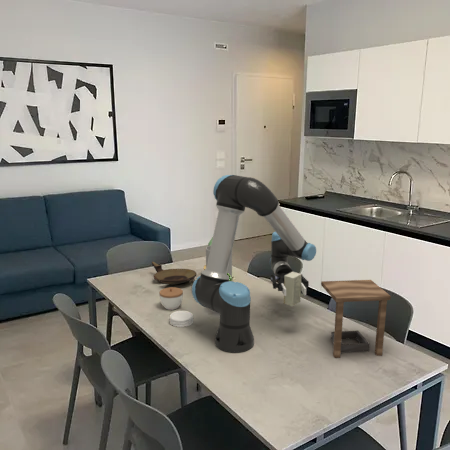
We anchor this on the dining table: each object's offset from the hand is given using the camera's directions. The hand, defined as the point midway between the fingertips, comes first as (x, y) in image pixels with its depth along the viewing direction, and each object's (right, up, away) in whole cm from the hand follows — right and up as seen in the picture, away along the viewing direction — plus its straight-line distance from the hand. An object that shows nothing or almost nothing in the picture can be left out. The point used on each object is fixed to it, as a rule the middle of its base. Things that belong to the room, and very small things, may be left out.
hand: (295, 292), depth 175 cm
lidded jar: (-52, -12, +34) cm, 63 cm away
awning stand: (+21, -20, -1) cm, 29 cm away
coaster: (-46, -16, +19) cm, 52 cm away
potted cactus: (-31, -4, +68) cm, 75 cm away
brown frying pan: (-55, -4, +68) cm, 88 cm away
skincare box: (0, -5, +6) cm, 8 cm away
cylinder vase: (-30, -9, +46) cm, 56 cm away
